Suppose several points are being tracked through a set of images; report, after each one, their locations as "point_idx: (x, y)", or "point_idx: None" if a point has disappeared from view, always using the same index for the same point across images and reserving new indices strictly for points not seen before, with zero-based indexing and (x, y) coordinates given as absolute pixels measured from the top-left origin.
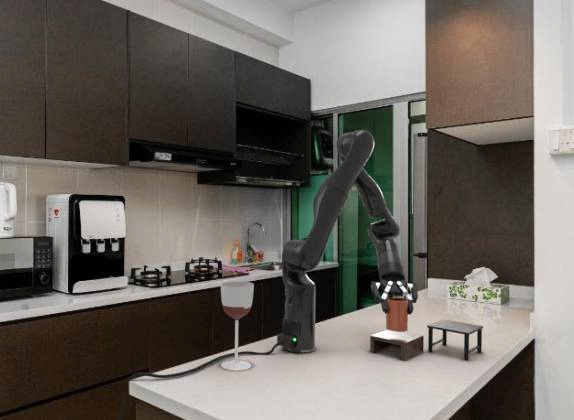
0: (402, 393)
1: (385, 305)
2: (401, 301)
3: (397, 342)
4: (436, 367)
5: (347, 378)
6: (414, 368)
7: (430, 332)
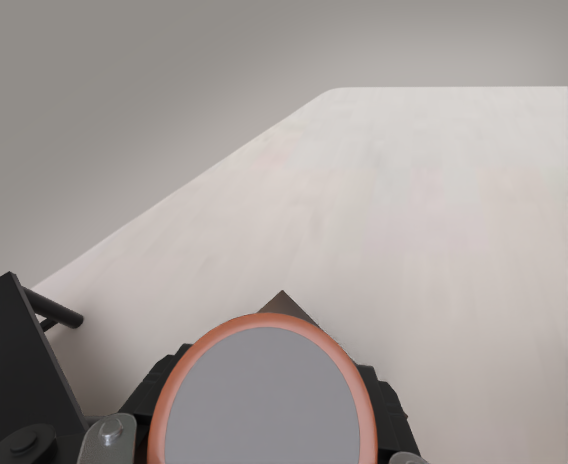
0: (352, 134)
1: (379, 391)
2: (261, 313)
3: (304, 312)
4: (216, 256)
5: (453, 189)
6: (280, 248)
7: (94, 417)
